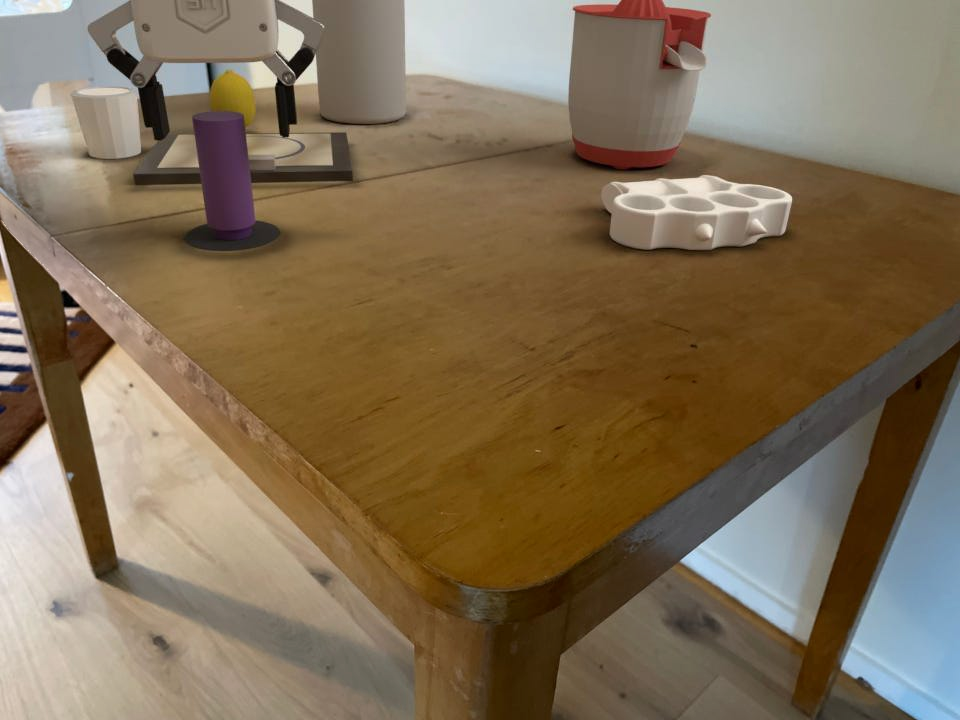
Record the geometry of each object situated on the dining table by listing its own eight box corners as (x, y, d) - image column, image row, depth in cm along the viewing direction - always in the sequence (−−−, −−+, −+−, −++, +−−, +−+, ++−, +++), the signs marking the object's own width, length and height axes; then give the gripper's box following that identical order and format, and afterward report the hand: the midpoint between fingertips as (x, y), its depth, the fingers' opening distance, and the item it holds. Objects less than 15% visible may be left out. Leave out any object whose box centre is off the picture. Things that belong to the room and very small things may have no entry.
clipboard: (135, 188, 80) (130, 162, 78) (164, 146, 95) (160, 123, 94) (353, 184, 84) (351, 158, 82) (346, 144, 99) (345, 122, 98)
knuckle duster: (723, 198, 83) (818, 244, 71) (570, 211, 78) (646, 264, 66) (728, 166, 82) (827, 209, 70) (573, 177, 76) (651, 225, 64)
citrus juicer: (628, 186, 86) (653, -14, 77) (535, 150, 99) (547, -25, 89) (725, 169, 94) (759, -15, 84) (627, 139, 107) (647, -24, 97)
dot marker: (206, 242, 66) (188, 121, 61) (211, 227, 69) (195, 111, 64) (255, 241, 66) (241, 120, 61) (258, 225, 70) (245, 110, 65)
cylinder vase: (404, 108, 120) (400, -78, 108) (408, 125, 110) (405, -79, 98) (321, 107, 119) (309, -81, 107) (317, 125, 108) (303, -82, 96)
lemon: (264, 136, 101) (258, 71, 97) (222, 141, 98) (214, 74, 94) (249, 128, 105) (243, 65, 101) (208, 132, 102) (200, 68, 98)
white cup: (69, 156, 90) (55, 92, 86) (113, 143, 95) (102, 83, 92) (117, 163, 88) (105, 98, 84) (159, 149, 94) (149, 89, 90)
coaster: (178, 256, 64) (177, 252, 63) (191, 224, 71) (190, 220, 70) (279, 253, 65) (278, 248, 65) (282, 222, 72) (281, 218, 72)
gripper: (44, -117, 51) (100, 149, 59) (315, -109, 54) (333, 143, 62) (74, -111, 57) (121, 128, 65) (315, -104, 60) (331, 123, 68)
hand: (224, 135), depth 63 cm, fingers open, 9 cm apart
